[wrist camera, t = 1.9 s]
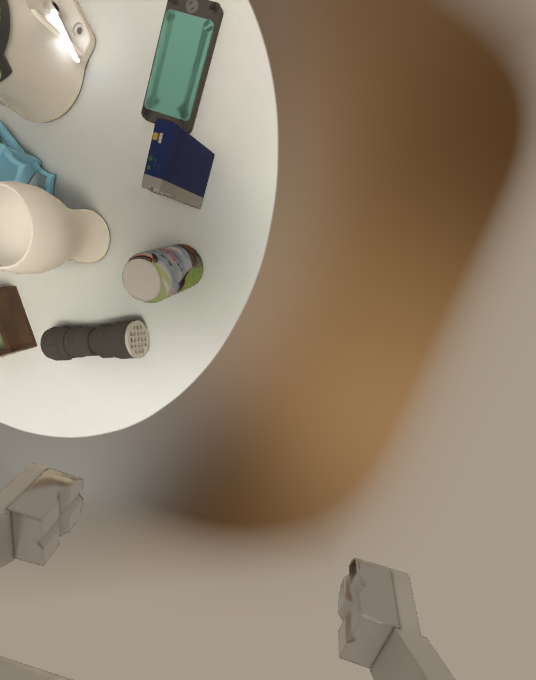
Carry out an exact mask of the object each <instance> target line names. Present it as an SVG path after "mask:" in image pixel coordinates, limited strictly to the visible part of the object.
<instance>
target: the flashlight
mask: <svg viewBox="0 0 536 680" xmlns="http://www.w3.org/2000/svg"><path fill="white" fill-rule="evenodd" d="M148 347H149V335H148V331H147V328H146V326H145V325H144V323H142V322H141V321H122V322H117V323H114V324H102V325H99V326H98V327H94V328H82V327H79V328H71V327H68V326H59V327H52V328H50V329H49V330H47V331H45V332H44V334H43V335H42V338H41V349H42V351H43V353H44V354H45V356H47V357H48V358H51V359H53V360H70V359H72V358H76V357H85V356H97V355H99V356H100V357H102V358H112V357H116V358H120V359H126V358H142V357H143V356H144V355H145V354H146V352H147V350H148Z"/></svg>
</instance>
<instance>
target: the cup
mask: <svg viewBox="0 0 536 680" xmlns="http://www.w3.org/2000/svg"><path fill="white" fill-rule="evenodd" d="M109 241H110V237H109V230H108V227H107V225H106V223H105V221H104V220H103V218H102V217H101V216H100V215H99V214H97V213H95V212H94V211H91V210H87V209H73V210H71V209H69V208H67V207H66V206H65V205H64V204H63V203H62V202H61V201H60V200H59V199H57V198H56V197H54V196H53V195H51V194H50V193H48V192H46V191H45V190H43V189H41V188H40V187H37V186H33V185H29V184H25V183H21V182H17V181H2V182H0V270H4V271H8V272H12V273H16V274H37V273H43V272H45V271H48V270H51V269H53V268H56V267H58V266H60V265H61V264H63V263H64V262H65V261H66V260H75V261H78V262H83V263H93V262H96V261H98V260H100V259H101V258H102V257H103V256H104V255H105V253H106V252H107V249H108V247H109Z"/></svg>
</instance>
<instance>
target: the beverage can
mask: <svg viewBox="0 0 536 680" xmlns="http://www.w3.org/2000/svg"><path fill="white" fill-rule="evenodd" d="M202 273H203V263H202V260H201V258H200V256H199V254H198V253H197V252H196V251H195V250H194V249H193V248H192V247H190V246H187V245H183V244H178V245H173V246H169V247H164V248H159V249H155V250H150V251H145V252H141V253H137V254H135V255H134V256H132V257H131V258H130V259H129V261H128V262H127V264H126V265H125V267H124V270H123V274H122V279H123V284H124V286H125V288H126V290H127V291H128V293H129V294H130V295H131V296H132V297H134V298H135V299H138V300H141V301H144V302H148V303H155V302H159V301H161V300H163V299H165V298H168V297H170V296H172V295H174V294H176V293H179V292H181V291H183V290H185V289H187V288H189V287H192V286H194V285H195V284H197V283H198V282H199V280H200V279H201V276H202Z"/></svg>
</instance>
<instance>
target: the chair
mask: <svg viewBox="0 0 536 680" xmlns="http://www.w3.org/2000/svg"><path fill="white" fill-rule="evenodd" d="M1 138H3V140H4V141H5V142H6V143H7V145H8V146H7V145H5V144H3V143H0V182H2V181H17V182H21V183H25V184H28V182H29V181H30V179H31V177H32V176H33V174H34V173H35V172H36V171H37V172H38V173H40V174H42V175H44V176H46V177H47V180H46V188H45V191H46V192H48V193H50V194H51V195H53V187H54V180H55V177H56V175H54V174H50V173H48V172H46V171H44V170H43V169H42V168H41V167H40V166H39V165H40V164H41V161H40V160H39V159H38V158H36V157H34V156H31V155H29V154H26V153H25V151H24V150H23V149H22V148H21V147H20V145H19V144H18V143H17V142H16V140H15V139H14V138H13V136H12V135H11V134H10V132H9V131H8V130H7V128H6V127H5V126H4V124H3V123H2V122H1V121H0V142H1Z"/></svg>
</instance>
